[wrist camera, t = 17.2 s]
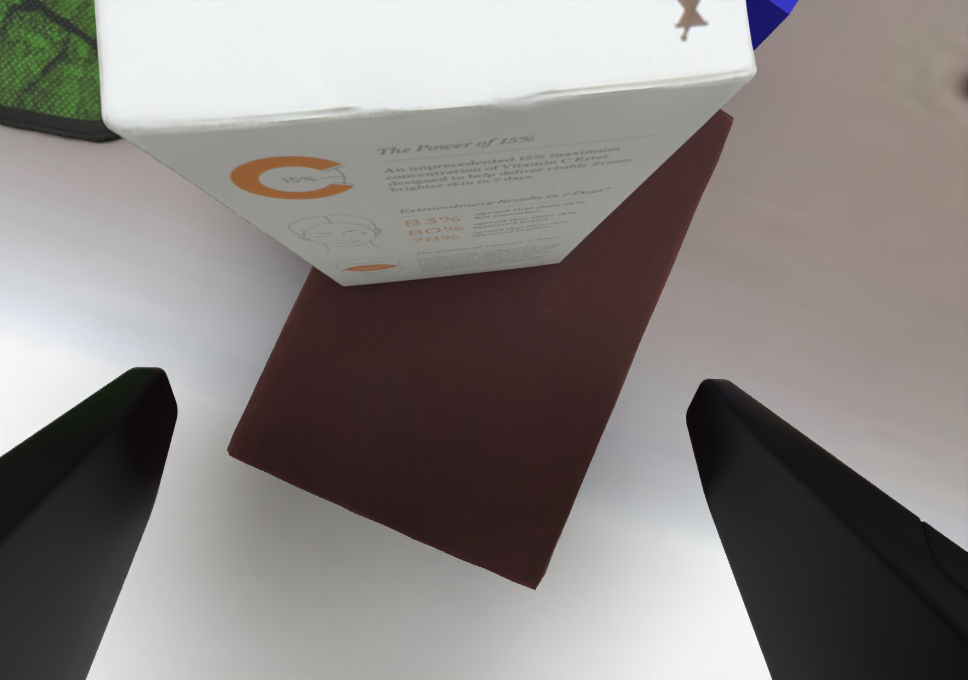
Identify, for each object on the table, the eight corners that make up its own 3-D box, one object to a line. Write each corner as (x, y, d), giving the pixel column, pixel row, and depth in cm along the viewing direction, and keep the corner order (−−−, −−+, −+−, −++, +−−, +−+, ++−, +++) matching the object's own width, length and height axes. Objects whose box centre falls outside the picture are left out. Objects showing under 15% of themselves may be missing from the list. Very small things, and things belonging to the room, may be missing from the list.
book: (247, 441, 22) (212, 456, 19) (442, 20, 23) (441, -36, 20) (530, 562, 22) (543, 596, 19) (707, 144, 24) (749, 110, 20)
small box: (542, 94, 20) (711, -411, 7) (562, 266, 20) (777, 81, 7) (318, 113, 19) (42, -391, 6) (337, 289, 19) (93, 141, 6)
